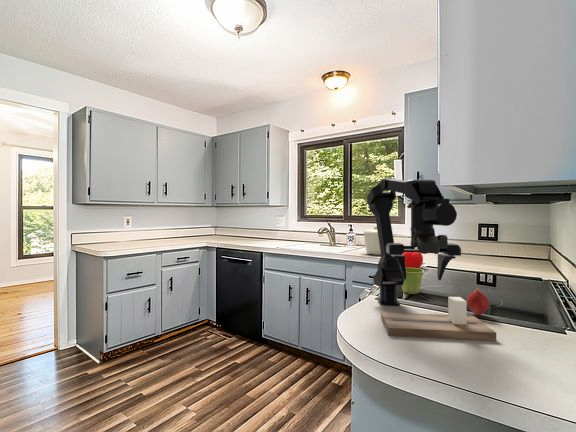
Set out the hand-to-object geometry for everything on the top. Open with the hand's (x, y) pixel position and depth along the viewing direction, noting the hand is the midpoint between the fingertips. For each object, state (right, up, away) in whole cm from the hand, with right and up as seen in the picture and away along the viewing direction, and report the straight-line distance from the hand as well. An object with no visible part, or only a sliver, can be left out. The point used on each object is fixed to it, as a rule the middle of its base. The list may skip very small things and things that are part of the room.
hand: (422, 279), depth 87 cm
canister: (+26, -10, +136) cm, 139 cm away
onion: (+19, -12, +5) cm, 23 cm away
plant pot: (+10, -12, +32) cm, 36 cm away
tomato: (+30, -11, +81) cm, 87 cm away
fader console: (+1, -12, -5) cm, 13 cm away
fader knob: (+7, -10, -6) cm, 13 cm away
